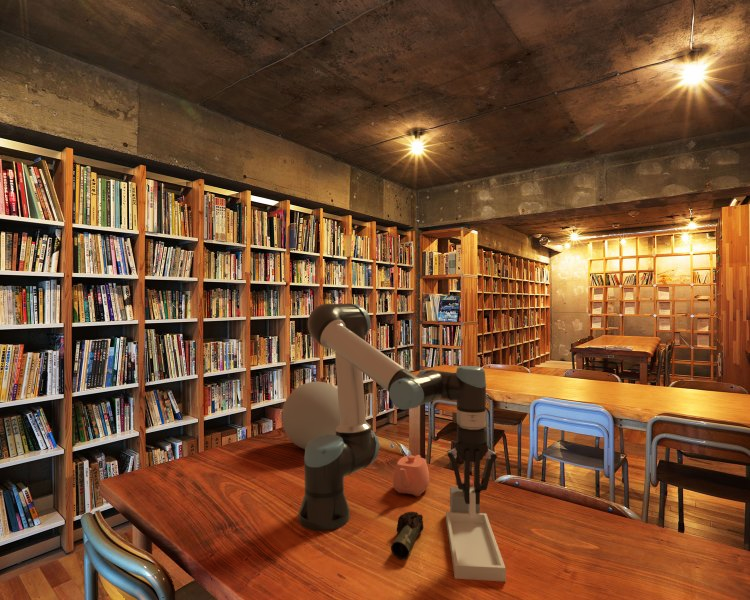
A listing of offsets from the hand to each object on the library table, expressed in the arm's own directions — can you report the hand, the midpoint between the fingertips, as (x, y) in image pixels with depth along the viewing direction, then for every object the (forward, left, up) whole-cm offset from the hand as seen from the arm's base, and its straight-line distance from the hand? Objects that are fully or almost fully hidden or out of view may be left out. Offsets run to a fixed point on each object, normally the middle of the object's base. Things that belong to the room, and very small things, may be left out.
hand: (472, 515), depth 110 cm
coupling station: (0, 0, -9) cm, 9 cm away
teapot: (-16, +33, -9) cm, 38 cm away
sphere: (-59, +74, -9) cm, 95 cm away
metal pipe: (-18, -4, -12) cm, 22 cm away
